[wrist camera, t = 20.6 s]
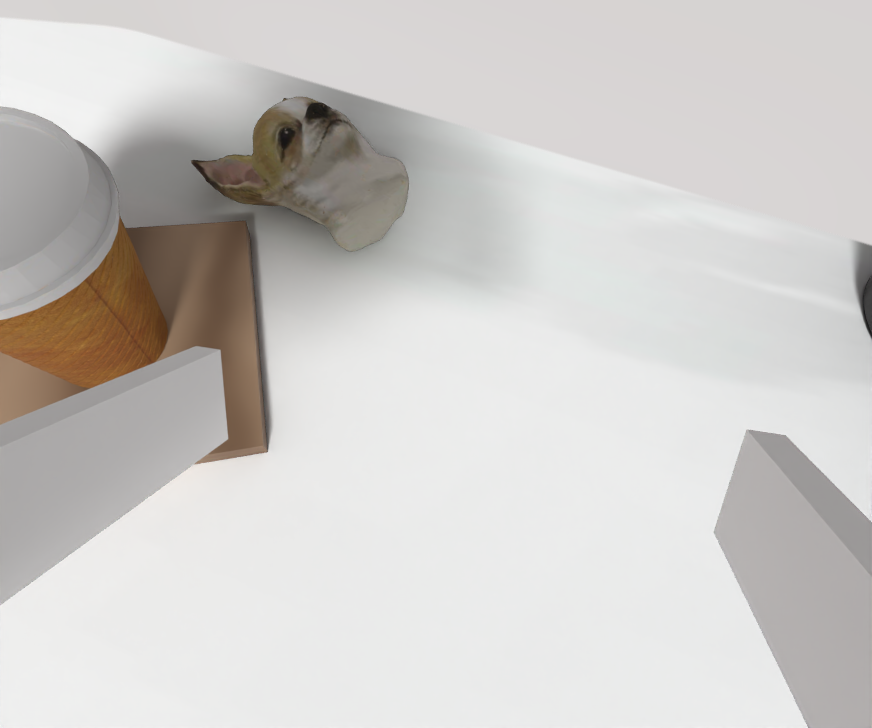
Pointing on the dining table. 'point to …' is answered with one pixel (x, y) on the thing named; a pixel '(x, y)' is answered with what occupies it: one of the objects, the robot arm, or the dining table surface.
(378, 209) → the ceramic sculpture
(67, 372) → the disposable coffee cup
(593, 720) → the dining table surface
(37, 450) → the robot arm
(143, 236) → the walnut board
